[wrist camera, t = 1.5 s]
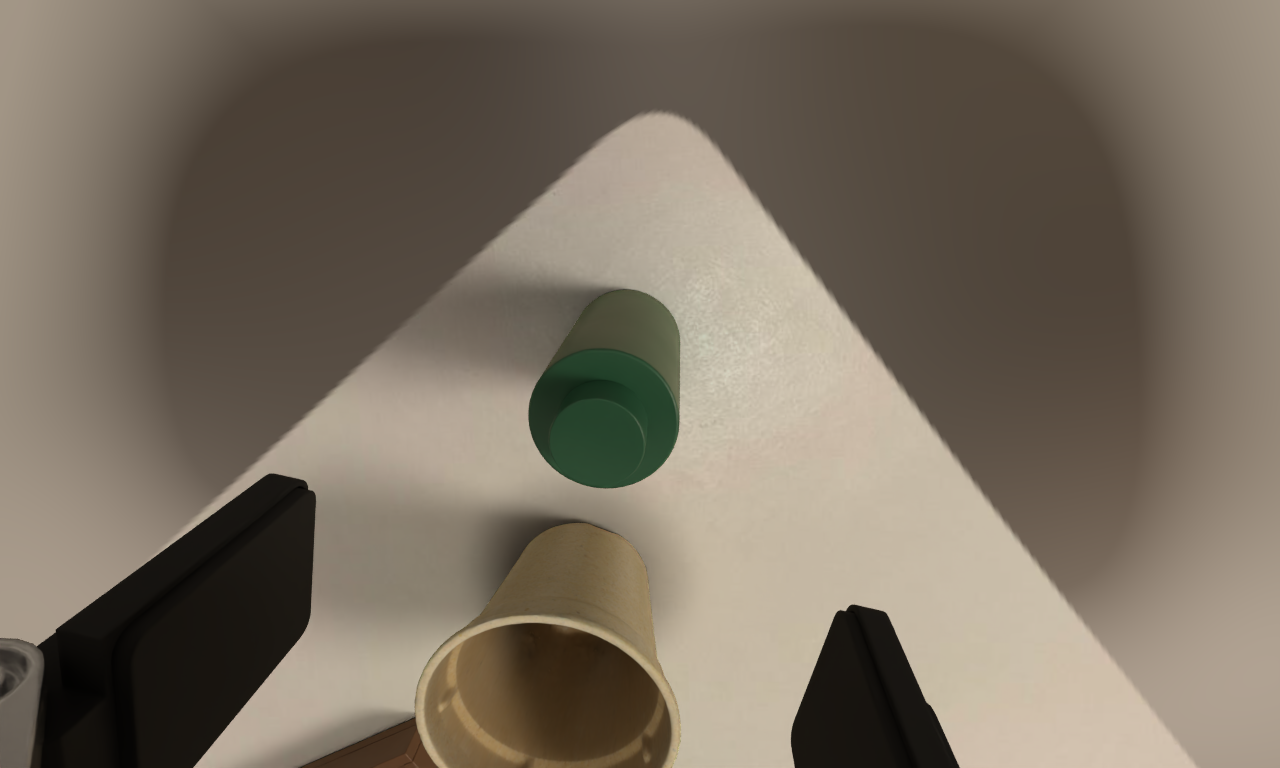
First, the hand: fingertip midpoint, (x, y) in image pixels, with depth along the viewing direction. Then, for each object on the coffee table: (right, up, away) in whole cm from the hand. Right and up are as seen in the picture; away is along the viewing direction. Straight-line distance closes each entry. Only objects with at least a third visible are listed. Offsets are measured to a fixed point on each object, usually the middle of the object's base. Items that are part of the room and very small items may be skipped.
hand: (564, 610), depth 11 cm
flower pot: (-1, -5, +19) cm, 20 cm away
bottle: (+1, +6, +15) cm, 16 cm away
